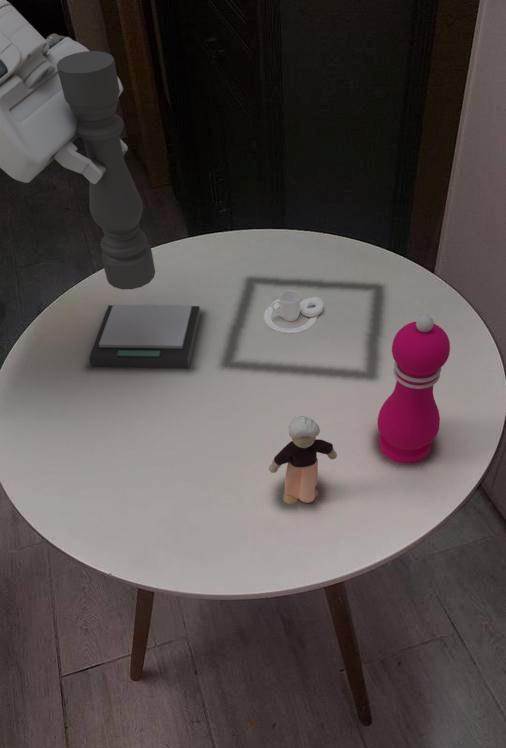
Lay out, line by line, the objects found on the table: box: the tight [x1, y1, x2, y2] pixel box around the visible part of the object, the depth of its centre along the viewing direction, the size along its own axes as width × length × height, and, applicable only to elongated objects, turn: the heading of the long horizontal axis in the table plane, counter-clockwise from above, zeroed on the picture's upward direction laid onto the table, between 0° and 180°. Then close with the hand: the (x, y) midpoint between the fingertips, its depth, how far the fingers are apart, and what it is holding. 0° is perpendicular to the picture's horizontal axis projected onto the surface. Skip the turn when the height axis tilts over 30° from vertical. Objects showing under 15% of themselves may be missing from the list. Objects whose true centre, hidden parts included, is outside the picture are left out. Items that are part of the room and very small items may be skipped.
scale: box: [88, 304, 202, 370], centre depth 99 cm, size 14×12×3 cm
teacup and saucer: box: [263, 289, 325, 334], centre depth 101 cm, size 9×8×4 cm
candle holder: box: [57, 50, 156, 290], centre depth 77 cm, size 6×6×25 cm
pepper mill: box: [376, 314, 451, 464], centre depth 77 cm, size 7×7×20 cm
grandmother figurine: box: [268, 415, 338, 505], centre depth 76 cm, size 8×4×13 cm, turn 114°
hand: (112, 166), depth 76 cm, fingers closed on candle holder, 4 cm apart
